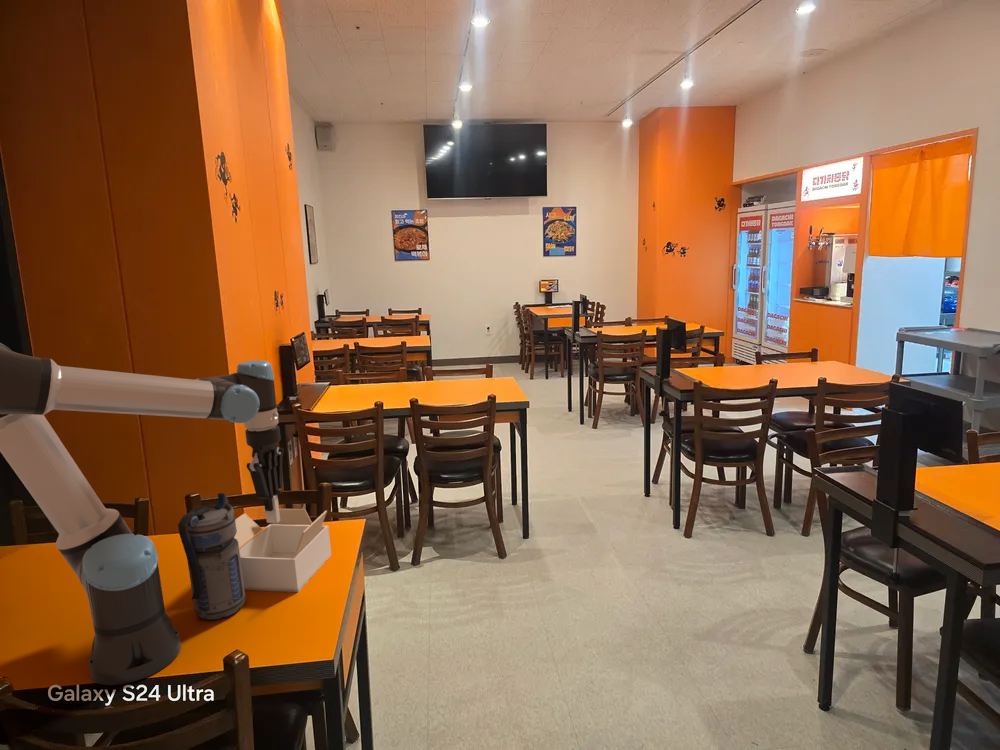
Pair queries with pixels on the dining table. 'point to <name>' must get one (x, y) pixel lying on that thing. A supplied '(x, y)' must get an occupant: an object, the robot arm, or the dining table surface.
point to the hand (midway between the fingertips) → (273, 521)
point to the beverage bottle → (213, 559)
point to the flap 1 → (293, 517)
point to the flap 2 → (310, 532)
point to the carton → (279, 555)
